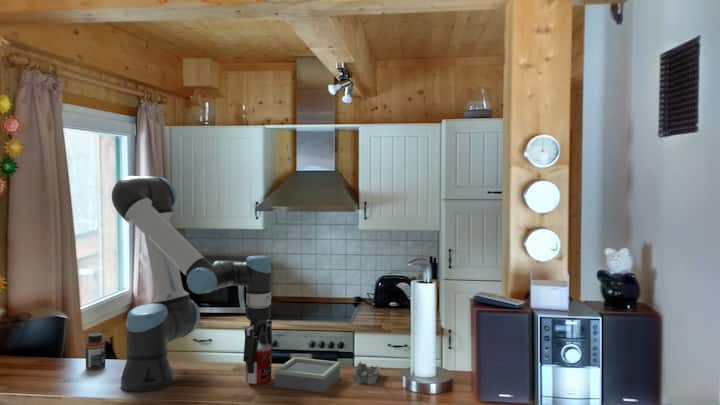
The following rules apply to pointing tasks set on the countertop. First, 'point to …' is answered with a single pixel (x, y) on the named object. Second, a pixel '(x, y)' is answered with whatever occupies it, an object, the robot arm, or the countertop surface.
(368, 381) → the egg carton
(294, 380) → the tray
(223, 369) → the countertop surface
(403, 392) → the countertop surface
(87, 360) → the supplement bottle
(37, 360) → the countertop surface
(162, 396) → the countertop surface
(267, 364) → the canned food
